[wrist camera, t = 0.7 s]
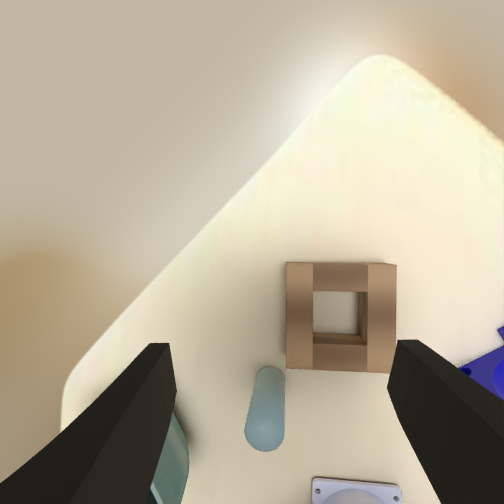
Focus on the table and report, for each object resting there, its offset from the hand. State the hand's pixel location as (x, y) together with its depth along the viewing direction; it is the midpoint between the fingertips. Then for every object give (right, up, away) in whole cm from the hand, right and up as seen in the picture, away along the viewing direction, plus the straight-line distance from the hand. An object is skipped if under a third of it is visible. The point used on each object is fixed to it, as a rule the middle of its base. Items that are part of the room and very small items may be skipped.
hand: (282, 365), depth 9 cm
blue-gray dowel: (+1, -9, +19) cm, 21 cm away
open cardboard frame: (+7, -2, +18) cm, 20 cm away
